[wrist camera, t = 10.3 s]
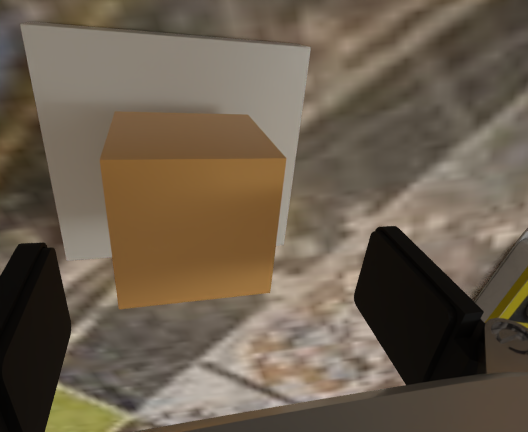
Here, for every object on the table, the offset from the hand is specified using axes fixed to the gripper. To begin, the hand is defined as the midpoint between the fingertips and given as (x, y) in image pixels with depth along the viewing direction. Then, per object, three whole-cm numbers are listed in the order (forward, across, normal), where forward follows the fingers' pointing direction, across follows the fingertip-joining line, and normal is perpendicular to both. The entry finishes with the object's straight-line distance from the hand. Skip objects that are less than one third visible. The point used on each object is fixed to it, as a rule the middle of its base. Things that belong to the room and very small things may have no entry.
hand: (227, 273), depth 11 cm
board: (+12, +1, 0) cm, 13 cm away
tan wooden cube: (+9, +1, 0) cm, 9 cm away
